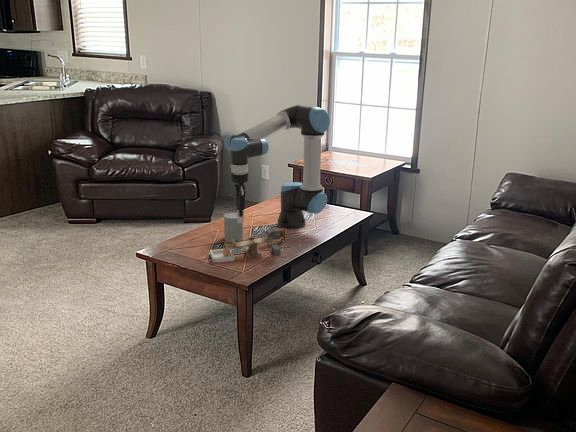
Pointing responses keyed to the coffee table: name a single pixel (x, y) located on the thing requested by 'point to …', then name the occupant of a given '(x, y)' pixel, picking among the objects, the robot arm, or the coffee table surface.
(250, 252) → the fulcrum
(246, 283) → the coffee table surface
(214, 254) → the dish
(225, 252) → the ball
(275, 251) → the block
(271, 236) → the lever
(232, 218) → the grey metal can
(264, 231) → the bull figurine
